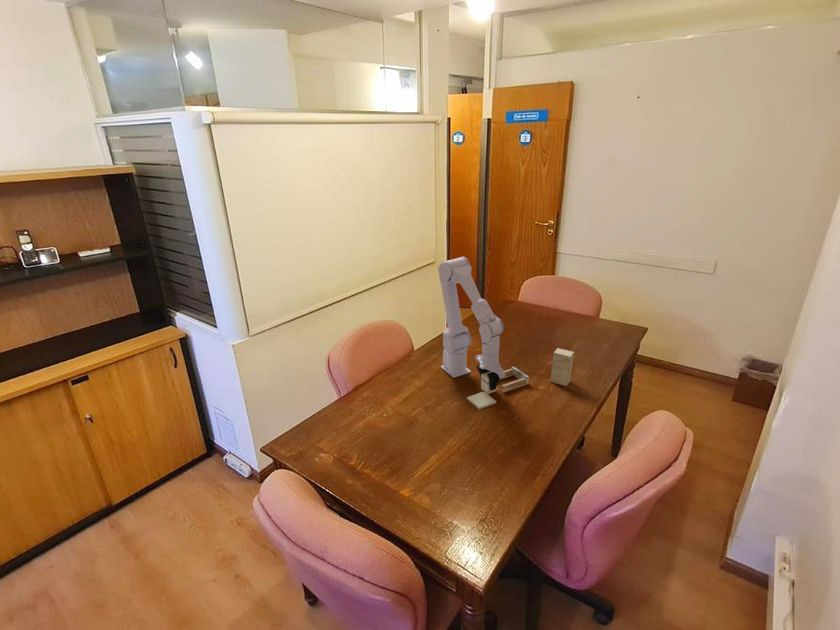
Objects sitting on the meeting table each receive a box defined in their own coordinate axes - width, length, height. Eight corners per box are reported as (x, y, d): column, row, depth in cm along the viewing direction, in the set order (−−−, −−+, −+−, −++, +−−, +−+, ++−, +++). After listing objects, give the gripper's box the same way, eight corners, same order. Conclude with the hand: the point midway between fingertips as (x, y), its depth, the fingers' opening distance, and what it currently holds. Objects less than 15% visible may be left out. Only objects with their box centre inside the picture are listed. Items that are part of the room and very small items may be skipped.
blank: (480, 388, 158) (481, 374, 156) (490, 385, 160) (490, 371, 158) (487, 394, 155) (488, 379, 153) (497, 390, 157) (497, 376, 154)
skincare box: (549, 381, 161) (552, 352, 156) (553, 376, 165) (556, 347, 160) (567, 386, 158) (570, 356, 153) (570, 381, 161) (574, 351, 157)
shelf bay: (488, 381, 162) (488, 374, 161) (513, 373, 167) (513, 366, 166) (503, 392, 155) (503, 385, 154) (528, 383, 160) (528, 376, 159)
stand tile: (467, 399, 152) (467, 397, 152) (483, 393, 155) (483, 391, 155) (479, 409, 147) (479, 407, 146) (496, 403, 150) (496, 401, 149)
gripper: (468, 346, 156) (468, 380, 161) (494, 364, 144) (492, 399, 149) (484, 342, 159) (483, 374, 164) (511, 358, 147) (508, 393, 152)
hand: (489, 386), depth 157 cm, fingers closed on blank, 4 cm apart
